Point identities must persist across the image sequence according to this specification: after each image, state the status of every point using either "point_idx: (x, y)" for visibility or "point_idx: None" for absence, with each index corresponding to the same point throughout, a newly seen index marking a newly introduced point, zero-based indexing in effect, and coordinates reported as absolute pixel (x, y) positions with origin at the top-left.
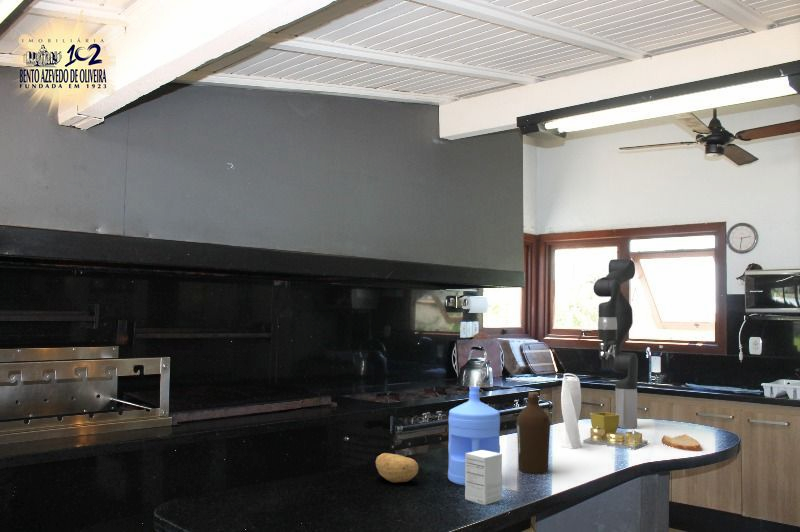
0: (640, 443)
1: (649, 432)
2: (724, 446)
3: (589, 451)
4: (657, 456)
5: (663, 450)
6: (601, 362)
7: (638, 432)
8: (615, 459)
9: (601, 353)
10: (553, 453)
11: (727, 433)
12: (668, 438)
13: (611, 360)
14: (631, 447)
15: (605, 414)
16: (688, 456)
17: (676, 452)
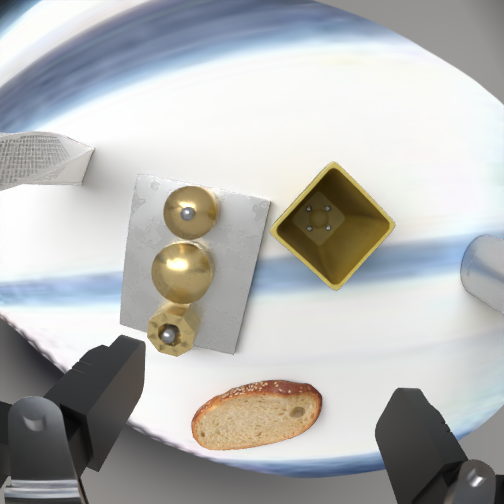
0: None
1: (423, 334)
2: (283, 470)
3: (49, 216)
4: None
5: (158, 381)
6: (83, 375)
7: (188, 347)
8: (16, 282)
9: (10, 486)
10: None
11: None
12: (264, 401)
13: (409, 468)
14: (121, 315)
15: (385, 224)
16: None
17: (153, 402)
